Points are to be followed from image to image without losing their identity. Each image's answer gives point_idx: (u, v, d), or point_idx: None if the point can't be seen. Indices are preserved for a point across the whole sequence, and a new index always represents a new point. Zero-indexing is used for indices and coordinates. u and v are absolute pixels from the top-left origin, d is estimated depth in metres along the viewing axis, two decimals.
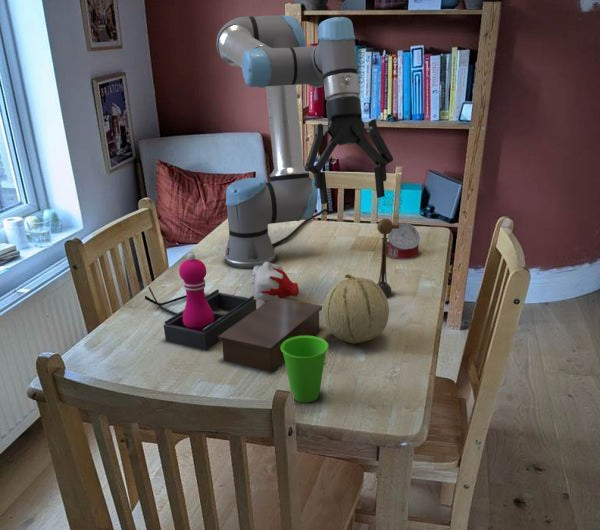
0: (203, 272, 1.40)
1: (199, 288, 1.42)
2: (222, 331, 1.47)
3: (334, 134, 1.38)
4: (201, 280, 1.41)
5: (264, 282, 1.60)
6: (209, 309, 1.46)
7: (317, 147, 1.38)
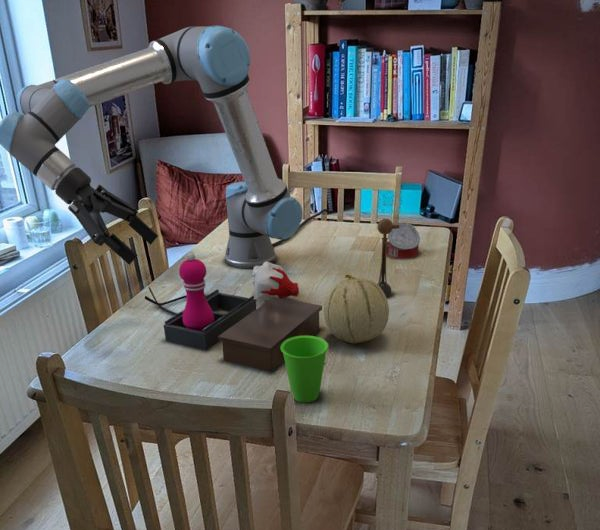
0: (203, 272, 1.40)
1: (199, 288, 1.42)
2: (222, 331, 1.47)
3: None
4: (201, 280, 1.41)
5: (264, 282, 1.60)
6: (209, 309, 1.46)
7: None
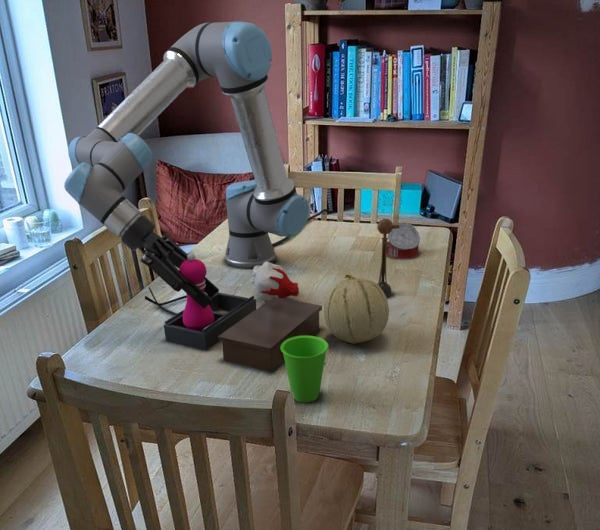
0: (204, 272, 1.40)
1: None
2: (222, 331, 1.47)
3: None
4: (201, 280, 1.41)
5: (264, 282, 1.60)
6: (209, 309, 1.46)
7: None
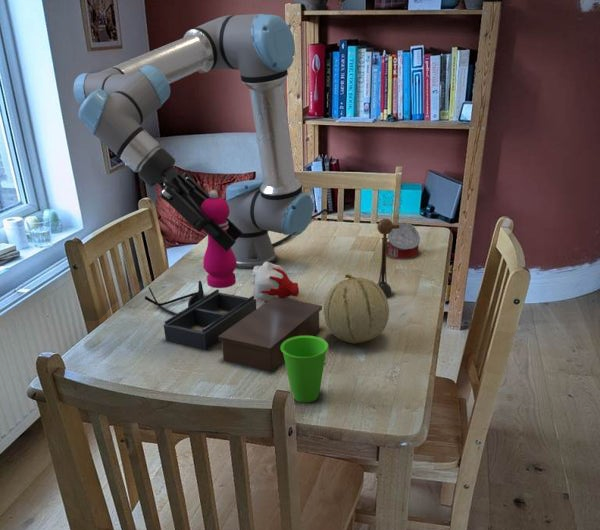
0: (227, 211, 1.31)
1: None
2: (222, 331, 1.47)
3: None
4: (224, 220, 1.32)
5: (264, 282, 1.60)
6: (232, 253, 1.36)
7: None
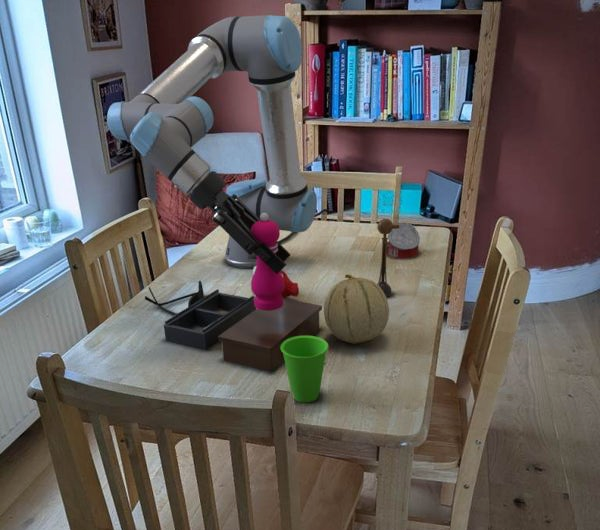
0: (277, 233, 1.29)
1: None
2: (222, 331, 1.47)
3: None
4: (274, 243, 1.30)
5: None
6: (280, 275, 1.35)
7: None
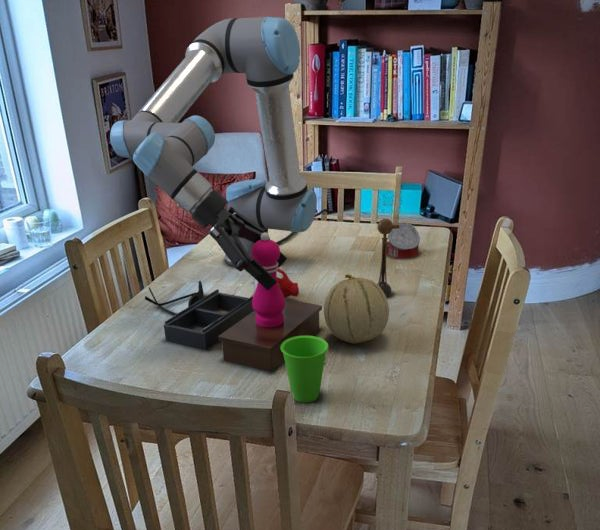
0: (278, 253, 1.31)
1: (273, 270, 1.33)
2: (222, 331, 1.47)
3: None
4: (275, 262, 1.32)
5: None
6: (281, 293, 1.37)
7: None
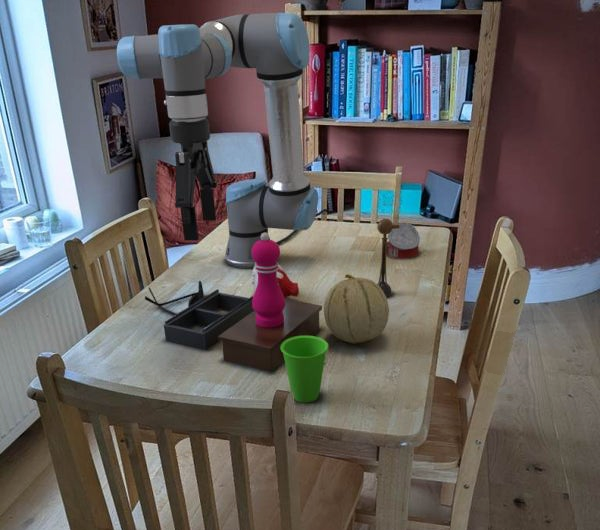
0: (278, 253, 1.31)
1: (273, 270, 1.33)
2: (222, 331, 1.47)
3: None
4: (275, 262, 1.32)
5: None
6: (281, 293, 1.37)
7: None
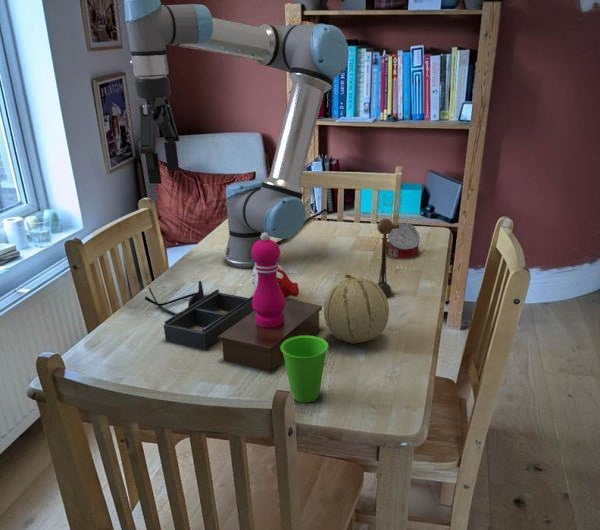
0: (278, 253, 1.31)
1: (273, 270, 1.33)
2: (222, 331, 1.47)
3: None
4: (275, 262, 1.32)
5: None
6: (281, 293, 1.37)
7: None
